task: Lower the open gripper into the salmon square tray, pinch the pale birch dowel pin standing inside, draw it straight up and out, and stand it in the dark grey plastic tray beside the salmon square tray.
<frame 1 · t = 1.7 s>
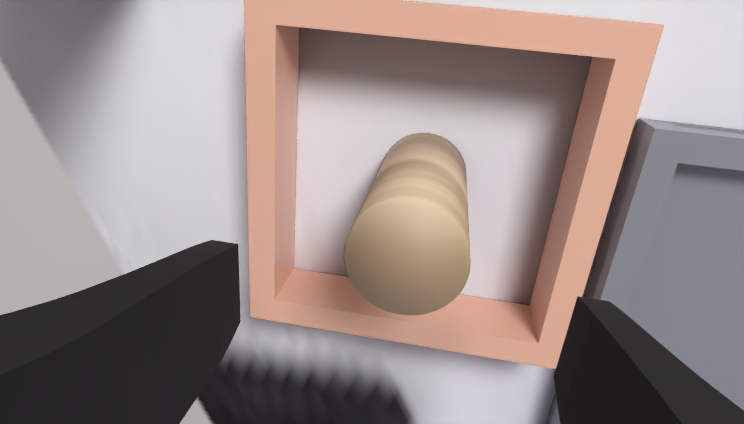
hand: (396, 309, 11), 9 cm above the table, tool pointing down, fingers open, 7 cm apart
dowel pin: (423, 174, 19), resting in salmon square tray
grey tray: (710, 333, 20), on the table
salmon square tray: (423, 174, 19), on the table
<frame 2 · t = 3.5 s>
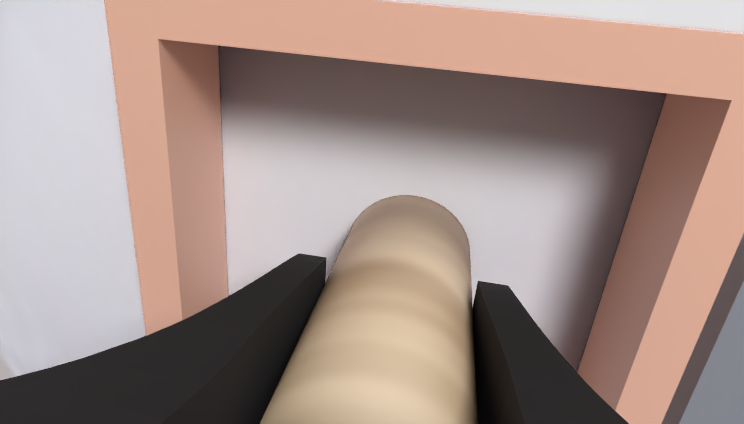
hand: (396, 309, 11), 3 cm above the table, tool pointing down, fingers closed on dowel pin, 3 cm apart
dowel pin: (407, 252, 13), resting in salmon square tray, touching gripper
salmon square tray: (407, 253, 13), on the table
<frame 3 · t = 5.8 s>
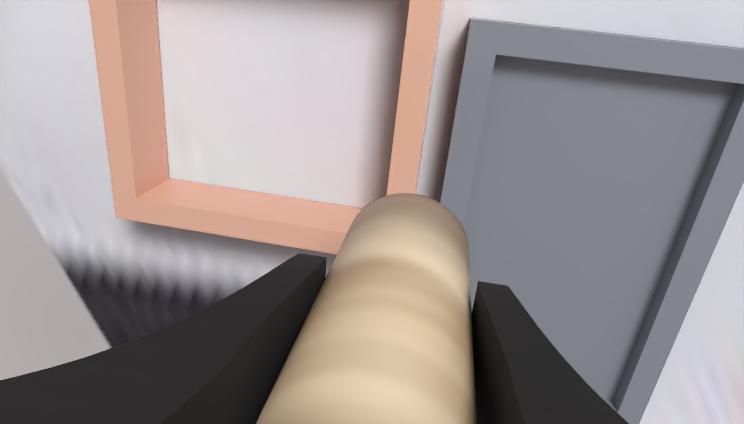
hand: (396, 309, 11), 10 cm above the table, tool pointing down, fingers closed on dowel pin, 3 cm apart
dowel pin: (406, 250, 13), point 8 cm above the table, touching gripper
grey tray: (557, 239, 20), on the table
salmon square tray: (279, 78, 20), on the table
when the fingers open (5 cm above the table, at t = 8.0 s): dowel pin drops 1 cm, resting on grey tray.
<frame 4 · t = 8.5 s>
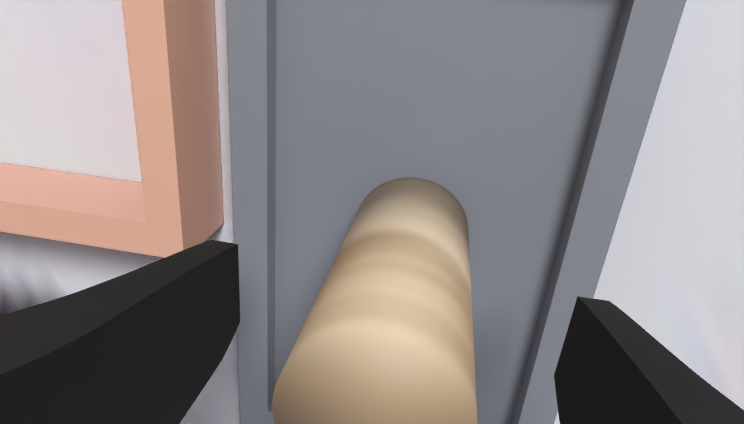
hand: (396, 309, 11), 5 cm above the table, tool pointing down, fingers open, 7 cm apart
dowel pin: (410, 230, 14), point 1 cm above the table, touching grey tray
grey tray: (413, 221, 15), on the table
salmon square tray: (14, 2, 14), on the table
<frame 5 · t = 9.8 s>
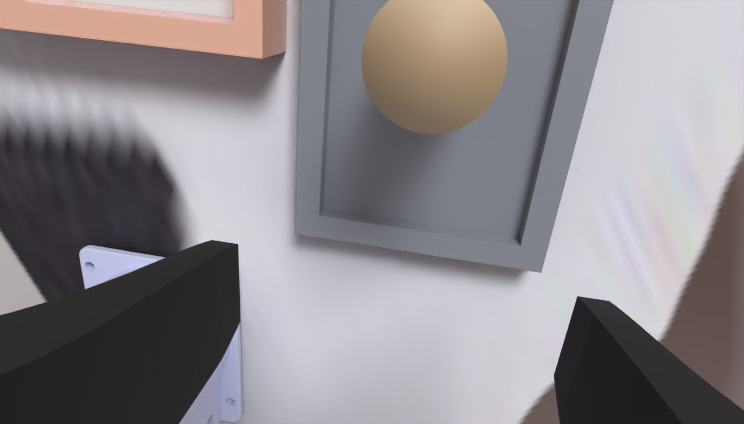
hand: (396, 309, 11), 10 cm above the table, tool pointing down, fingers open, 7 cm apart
dowel pin: (443, 40, 17), point 1 cm above the table, touching grey tray
grey tray: (445, 41, 18), on the table
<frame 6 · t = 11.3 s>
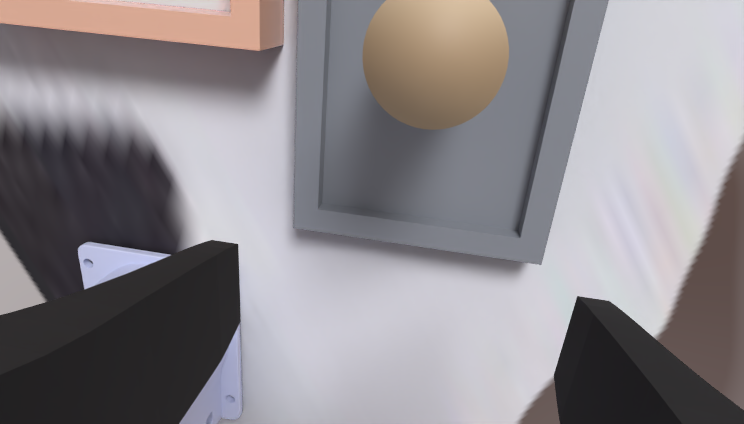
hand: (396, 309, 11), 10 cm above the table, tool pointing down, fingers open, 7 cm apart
dowel pin: (441, 32, 17), point 1 cm above the table, touching grey tray
grey tray: (442, 32, 18), on the table
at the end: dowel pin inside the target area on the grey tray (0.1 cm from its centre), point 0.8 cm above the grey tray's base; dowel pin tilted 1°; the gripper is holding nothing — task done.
